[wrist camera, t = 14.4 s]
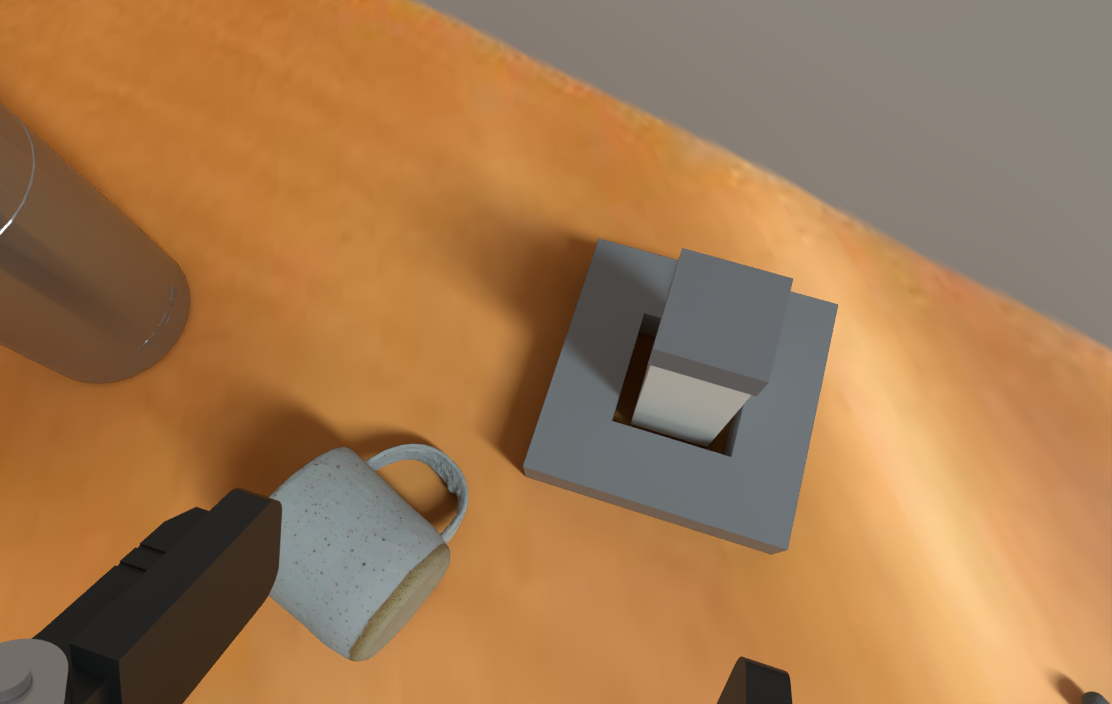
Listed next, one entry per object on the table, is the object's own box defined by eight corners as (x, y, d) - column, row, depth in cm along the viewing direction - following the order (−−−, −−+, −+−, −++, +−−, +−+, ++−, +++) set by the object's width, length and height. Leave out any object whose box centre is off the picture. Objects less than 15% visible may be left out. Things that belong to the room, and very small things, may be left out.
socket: (525, 476, 41) (522, 463, 38) (596, 261, 46) (599, 231, 42) (771, 554, 40) (792, 548, 36) (820, 324, 44) (843, 298, 41)
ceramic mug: (377, 670, 38) (336, 680, 31) (265, 569, 40) (202, 556, 33) (507, 507, 41) (497, 481, 34) (397, 419, 43) (366, 377, 36)
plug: (627, 425, 42) (652, 348, 30) (649, 350, 44) (682, 248, 32) (708, 450, 42) (768, 382, 30) (728, 373, 43) (793, 278, 31)
